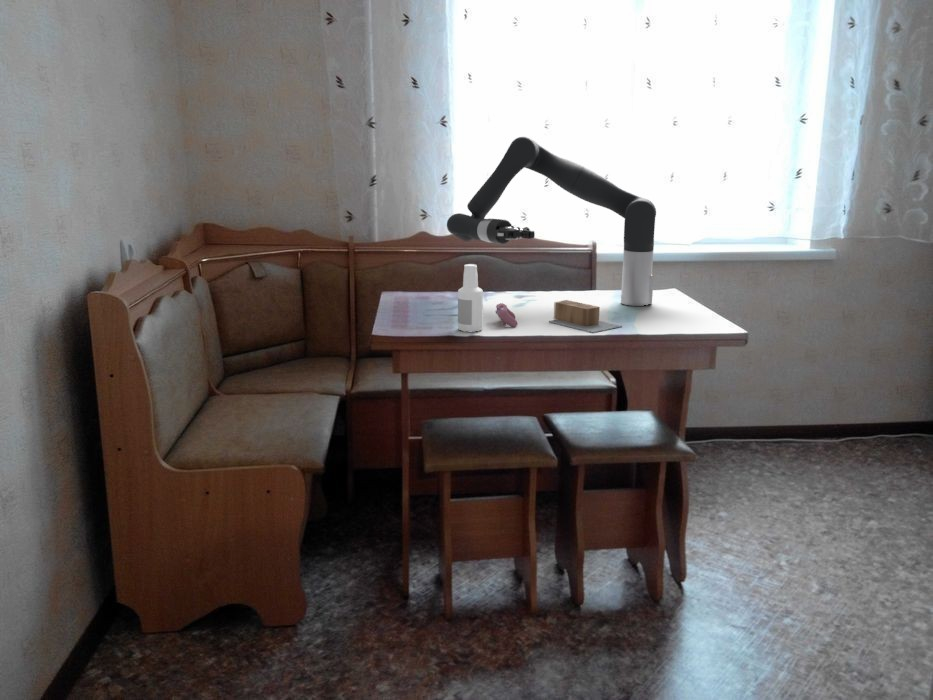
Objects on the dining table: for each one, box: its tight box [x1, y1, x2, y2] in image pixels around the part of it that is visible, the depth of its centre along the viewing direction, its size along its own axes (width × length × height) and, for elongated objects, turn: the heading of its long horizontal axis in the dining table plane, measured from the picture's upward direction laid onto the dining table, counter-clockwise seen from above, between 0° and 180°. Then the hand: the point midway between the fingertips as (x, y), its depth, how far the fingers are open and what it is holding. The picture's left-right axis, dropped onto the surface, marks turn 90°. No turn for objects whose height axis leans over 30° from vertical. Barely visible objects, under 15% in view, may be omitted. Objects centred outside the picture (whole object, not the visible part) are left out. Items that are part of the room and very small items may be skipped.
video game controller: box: [495, 302, 518, 328], centre depth 226 cm, size 10×5×7 cm, turn 0°
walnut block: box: [553, 299, 601, 327], centre depth 228 cm, size 5×5×13 cm
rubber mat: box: [548, 319, 623, 333], centre depth 226 cm, size 17×12×1 cm
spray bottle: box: [457, 263, 484, 332], centre depth 217 cm, size 7×7×18 cm
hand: (532, 234), depth 237 cm, fingers closed
